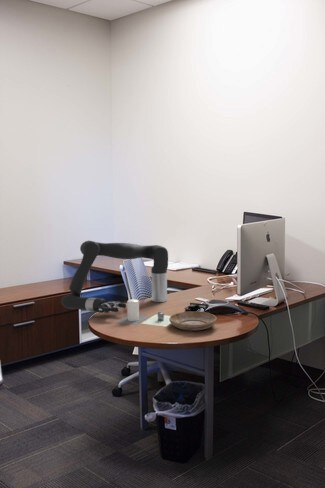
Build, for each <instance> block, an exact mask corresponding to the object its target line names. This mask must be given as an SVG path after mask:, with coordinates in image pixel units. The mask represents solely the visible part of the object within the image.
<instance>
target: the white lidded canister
mask: <svg viewBox="0 0 325 488" xmlns="http://www.w3.org/2000/svg"><path fill="white" fill-rule="evenodd" d="M126 308H127V309H126V310H127V311H126V312H127V316H128V320H129V321H138V320H139V315H140V301H139V299H135V298H133V299H128V300H127V302H126Z"/></svg>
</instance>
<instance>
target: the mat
mask: <svg viewBox="0 0 325 488" xmlns="http://www.w3.org/2000/svg"><path fill="white" fill-rule="evenodd" d="M149 318H151V316H147V315H140V314H139V320H138V321H129V320H128V316H125V317H123V318H121V319H120V320H118V321H116V322H115V323H118V324H124V325H125V324H126V325H133V326H138V325H139V324H141V323H143V322H144V321H146V320H148V319H149Z"/></svg>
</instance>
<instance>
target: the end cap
mask: <svg viewBox="0 0 325 488" xmlns="http://www.w3.org/2000/svg"><path fill="white" fill-rule="evenodd" d="M208 307H209V308H210V305H209V304H208V303H199V302H198V303H197V302H190V303H189V306H188V308H187V309H188V311H187V312H196V311H197V310H198V309H200V308H203V309H204V311H205V310H206V309H207V308H208ZM205 312H206V313H210V311H209V312H208V311H205Z"/></svg>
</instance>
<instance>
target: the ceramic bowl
mask: <svg viewBox="0 0 325 488" xmlns="http://www.w3.org/2000/svg"><path fill="white" fill-rule="evenodd" d="M170 316H171V317H170V318H169V320H170V323H171V324H170V325H172V326H173V327H175V328H177V329H179V330H184V331H203V330H206V329H209V328H211V327H213V326H214V325H215V324H216V322H217V316H216V315H214V314H212V313H210V312H209V313H206V312H188V311H182V312H177V313H174V314H172V315H170Z"/></svg>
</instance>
